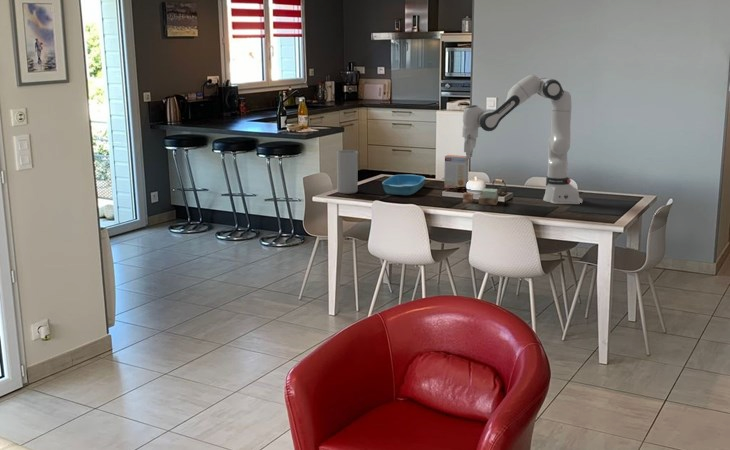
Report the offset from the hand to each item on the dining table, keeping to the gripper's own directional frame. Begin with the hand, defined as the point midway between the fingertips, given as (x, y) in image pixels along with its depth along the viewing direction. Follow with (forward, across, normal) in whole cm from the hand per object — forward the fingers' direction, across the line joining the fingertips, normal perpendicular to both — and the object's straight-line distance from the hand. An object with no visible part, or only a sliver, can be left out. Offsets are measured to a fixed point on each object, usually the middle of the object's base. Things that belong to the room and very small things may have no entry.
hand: (469, 157), depth 461 cm
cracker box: (+26, +35, +13) cm, 45 cm away
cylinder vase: (+26, +7, +76) cm, 80 cm away
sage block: (+22, 0, -12) cm, 25 cm away
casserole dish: (+26, +21, +43) cm, 55 cm away
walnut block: (+26, 0, -12) cm, 29 cm away
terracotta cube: (+26, 0, 0) cm, 26 cm away
